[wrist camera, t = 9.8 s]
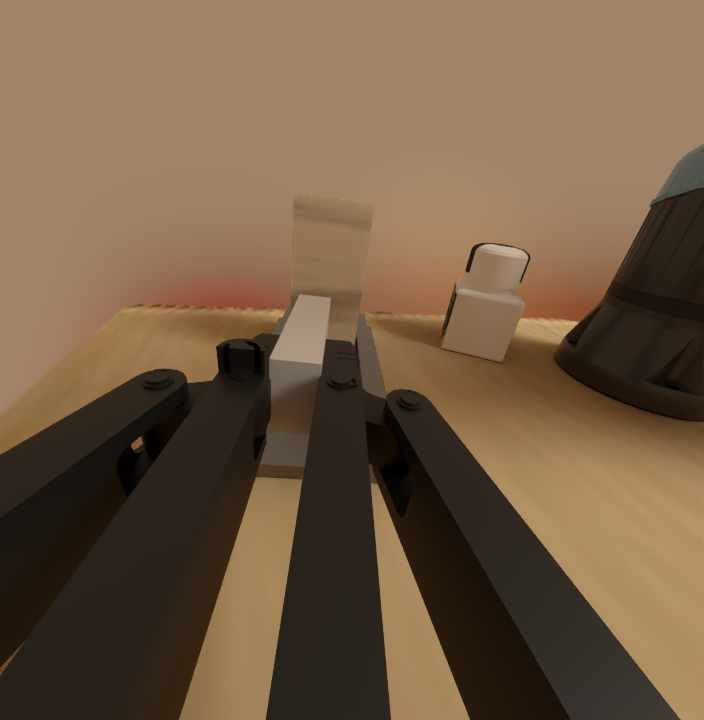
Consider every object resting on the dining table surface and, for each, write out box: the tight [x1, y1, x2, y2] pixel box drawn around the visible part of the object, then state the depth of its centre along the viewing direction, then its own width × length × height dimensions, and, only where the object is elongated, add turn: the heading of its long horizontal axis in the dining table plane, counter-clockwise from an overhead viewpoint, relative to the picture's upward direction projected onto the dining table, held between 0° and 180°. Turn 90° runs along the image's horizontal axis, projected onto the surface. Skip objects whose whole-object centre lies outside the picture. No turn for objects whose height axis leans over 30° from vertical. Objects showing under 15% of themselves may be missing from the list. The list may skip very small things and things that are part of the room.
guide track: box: [256, 307, 386, 483], centre depth 26 cm, size 22×11×2 cm, turn 2°
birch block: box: [290, 194, 374, 346], centre depth 28 cm, size 6×6×13 cm
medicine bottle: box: [440, 243, 530, 362], centre depth 35 cm, size 7×7×12 cm
